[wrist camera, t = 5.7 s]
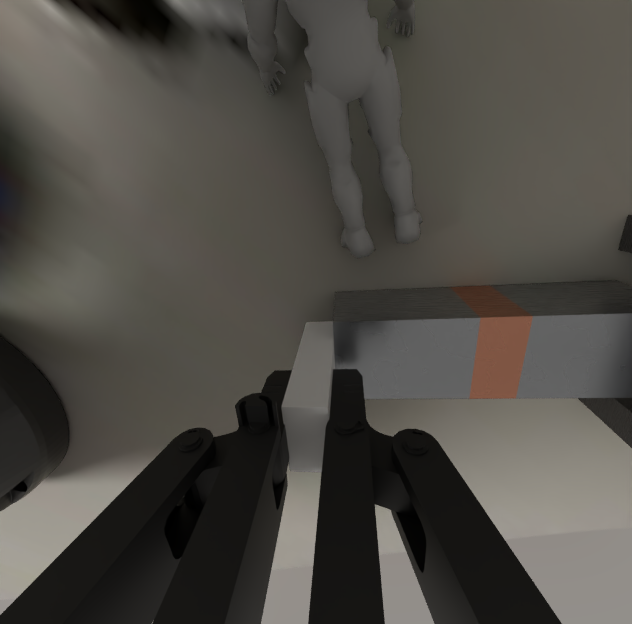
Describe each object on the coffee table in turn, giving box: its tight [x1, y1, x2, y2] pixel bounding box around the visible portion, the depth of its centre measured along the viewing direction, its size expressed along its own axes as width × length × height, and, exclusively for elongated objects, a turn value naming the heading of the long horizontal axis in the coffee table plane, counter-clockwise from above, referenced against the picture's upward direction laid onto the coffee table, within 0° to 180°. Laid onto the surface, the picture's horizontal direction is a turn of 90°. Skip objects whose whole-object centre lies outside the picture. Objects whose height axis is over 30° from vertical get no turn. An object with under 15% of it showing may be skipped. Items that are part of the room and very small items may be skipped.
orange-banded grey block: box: [333, 281, 632, 399], centre depth 15 cm, size 14×4×4 cm, turn 94°
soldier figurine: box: [242, 0, 422, 258], centre depth 12 cm, size 6×5×12 cm
